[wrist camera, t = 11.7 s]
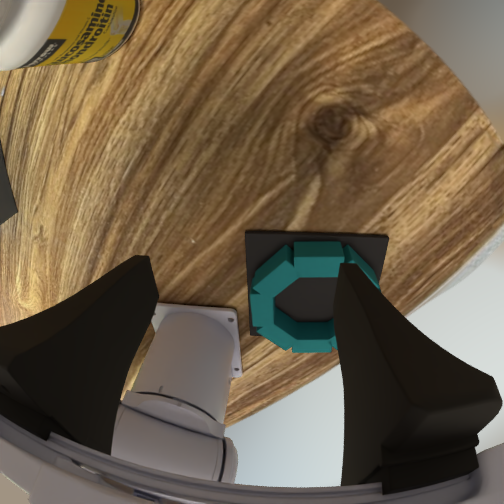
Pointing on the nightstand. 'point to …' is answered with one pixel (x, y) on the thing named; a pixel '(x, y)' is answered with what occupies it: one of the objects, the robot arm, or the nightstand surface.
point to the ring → (285, 273)
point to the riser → (5, 193)
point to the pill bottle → (63, 31)
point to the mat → (308, 288)
